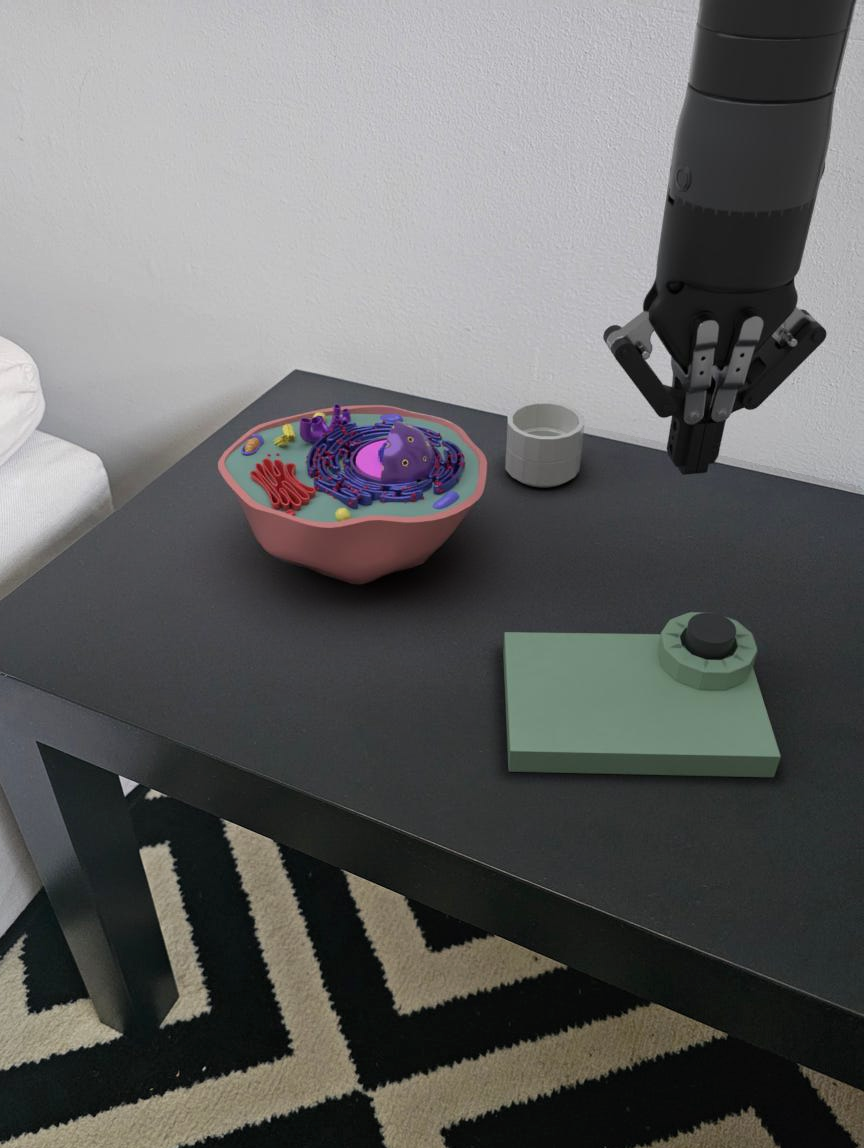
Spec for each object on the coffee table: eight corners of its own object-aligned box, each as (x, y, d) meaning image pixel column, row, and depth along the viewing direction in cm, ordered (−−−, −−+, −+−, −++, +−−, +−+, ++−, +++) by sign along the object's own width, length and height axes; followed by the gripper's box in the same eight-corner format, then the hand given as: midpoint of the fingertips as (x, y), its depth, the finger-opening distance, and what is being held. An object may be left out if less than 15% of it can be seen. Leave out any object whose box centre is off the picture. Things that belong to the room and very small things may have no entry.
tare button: (726, 630, 68) (731, 612, 67) (735, 661, 66) (740, 643, 65) (680, 630, 69) (684, 611, 68) (688, 660, 66) (692, 642, 65)
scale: (736, 651, 72) (746, 612, 69) (774, 777, 63) (787, 737, 61) (502, 648, 72) (505, 609, 70) (508, 772, 64) (511, 732, 62)
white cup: (575, 452, 92) (580, 401, 88) (581, 491, 87) (587, 439, 84) (503, 451, 92) (506, 401, 89) (505, 491, 87) (508, 438, 84)
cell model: (276, 479, 90) (262, 357, 82) (504, 510, 85) (511, 384, 78) (196, 598, 78) (171, 468, 70) (457, 642, 73) (461, 508, 66)
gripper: (833, 150, 57) (767, 428, 69) (599, 167, 56) (571, 446, 68) (900, 195, 52) (815, 490, 63) (640, 214, 51) (602, 510, 62)
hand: (688, 467), depth 65 cm, fingers closed
